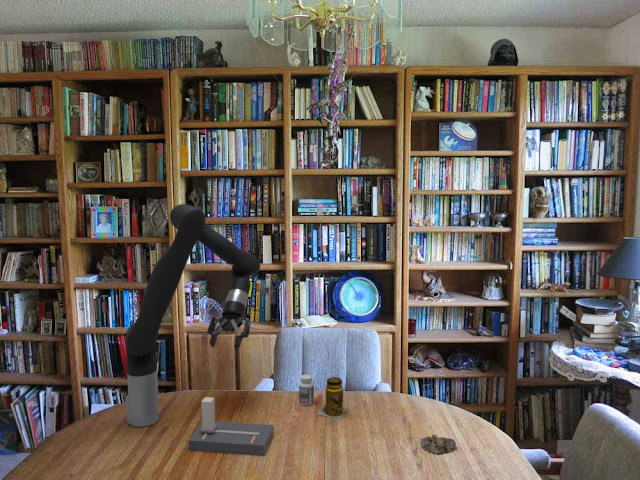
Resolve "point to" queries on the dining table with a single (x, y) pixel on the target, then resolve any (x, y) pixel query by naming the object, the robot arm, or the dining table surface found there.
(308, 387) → the pill bottle
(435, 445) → the mineral rock
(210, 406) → the fader tab
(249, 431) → the console
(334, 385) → the condiment
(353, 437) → the dining table surface
